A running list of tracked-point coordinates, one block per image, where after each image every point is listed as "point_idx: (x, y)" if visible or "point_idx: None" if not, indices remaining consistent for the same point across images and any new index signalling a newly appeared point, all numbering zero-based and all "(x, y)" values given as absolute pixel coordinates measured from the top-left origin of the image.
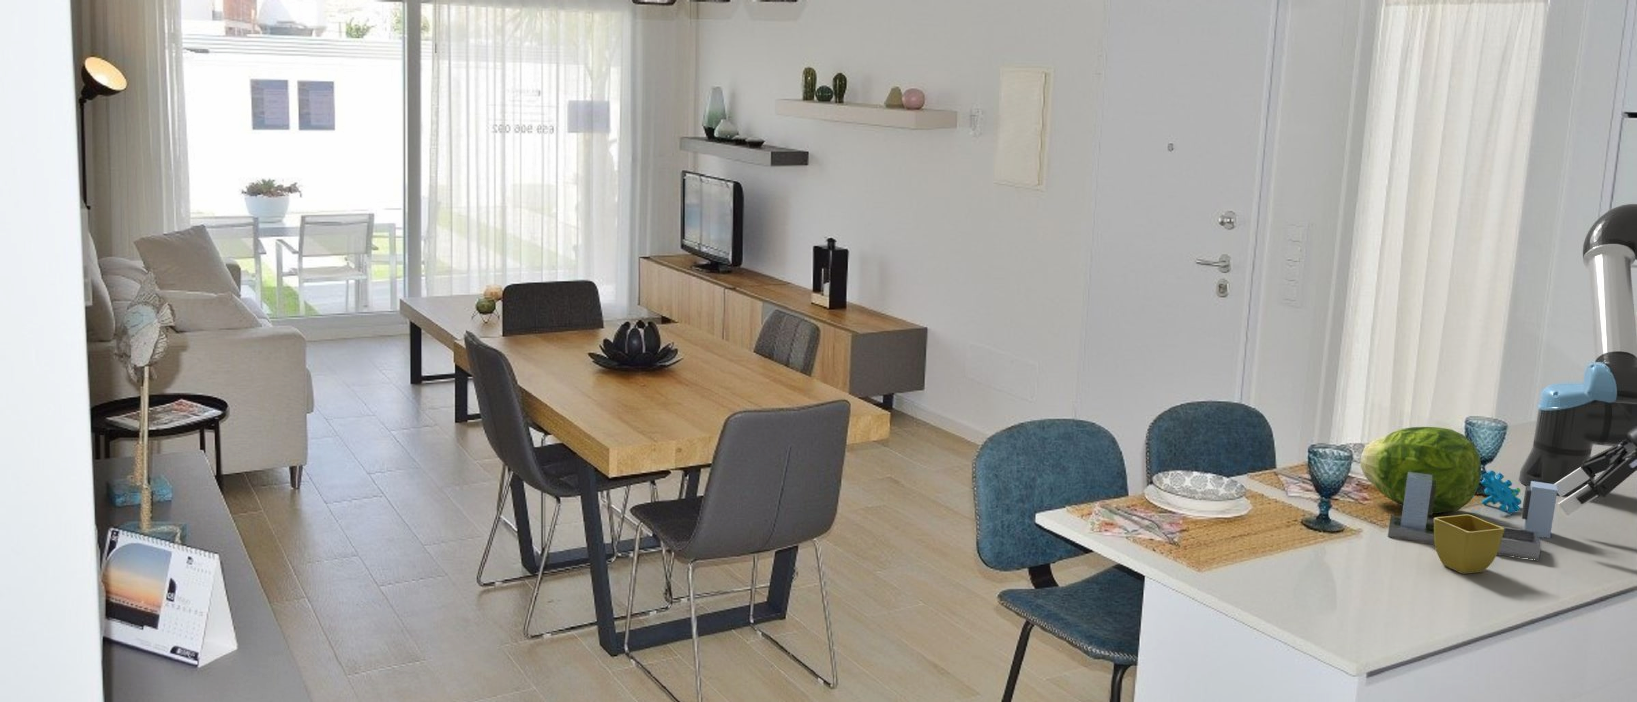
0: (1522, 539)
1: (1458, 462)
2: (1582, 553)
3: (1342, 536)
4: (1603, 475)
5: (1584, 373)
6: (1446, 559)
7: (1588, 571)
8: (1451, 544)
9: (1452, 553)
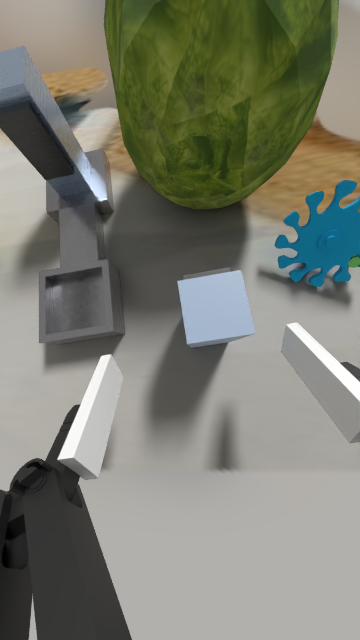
0: (94, 313)
1: (123, 78)
2: (141, 401)
3: None
4: (32, 582)
5: None
6: None
7: (53, 415)
8: None
9: None
